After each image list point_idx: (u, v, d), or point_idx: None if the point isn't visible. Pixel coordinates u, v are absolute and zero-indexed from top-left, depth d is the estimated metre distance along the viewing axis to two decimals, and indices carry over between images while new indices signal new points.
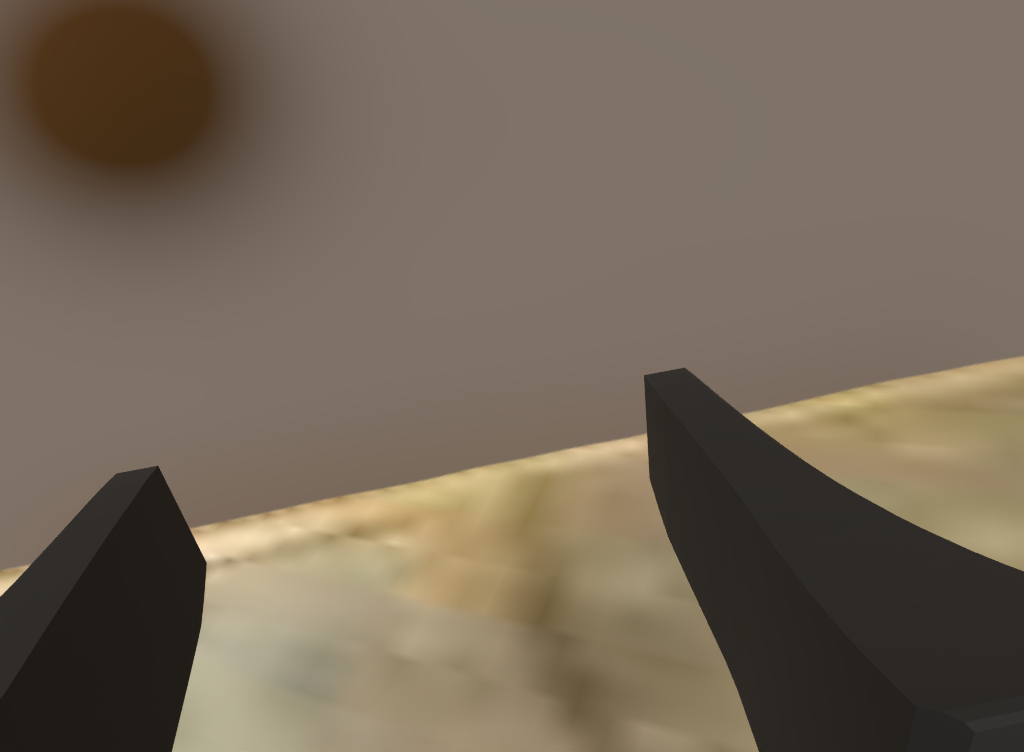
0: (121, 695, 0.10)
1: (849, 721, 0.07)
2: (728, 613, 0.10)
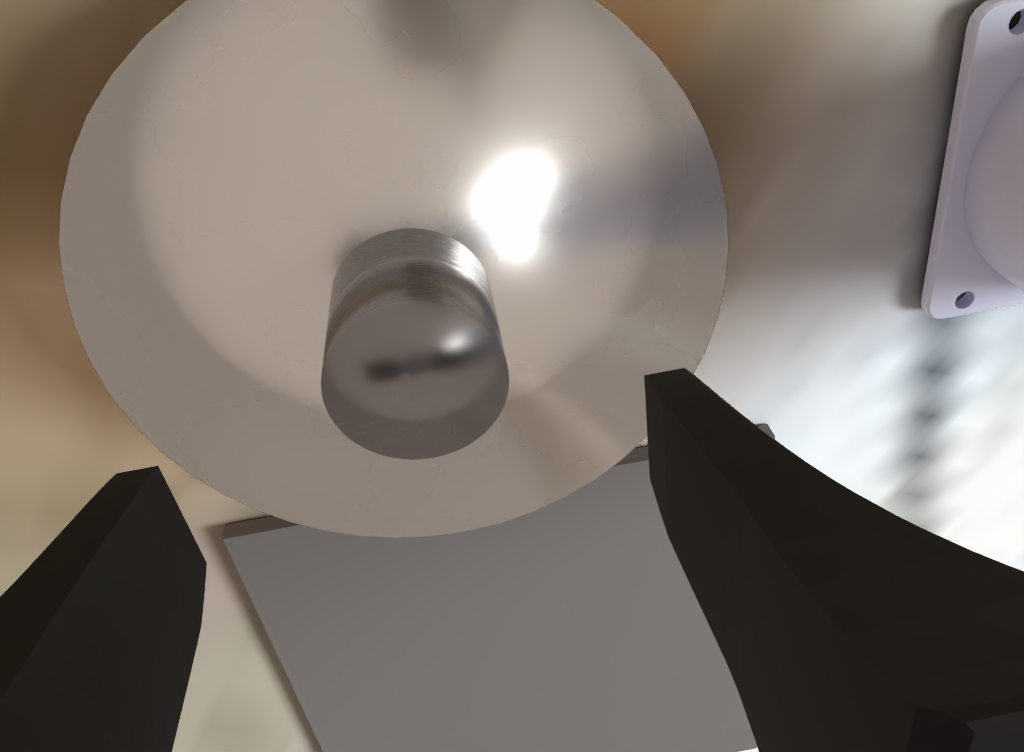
0: (121, 695, 0.10)
1: (849, 722, 0.07)
2: (728, 613, 0.10)
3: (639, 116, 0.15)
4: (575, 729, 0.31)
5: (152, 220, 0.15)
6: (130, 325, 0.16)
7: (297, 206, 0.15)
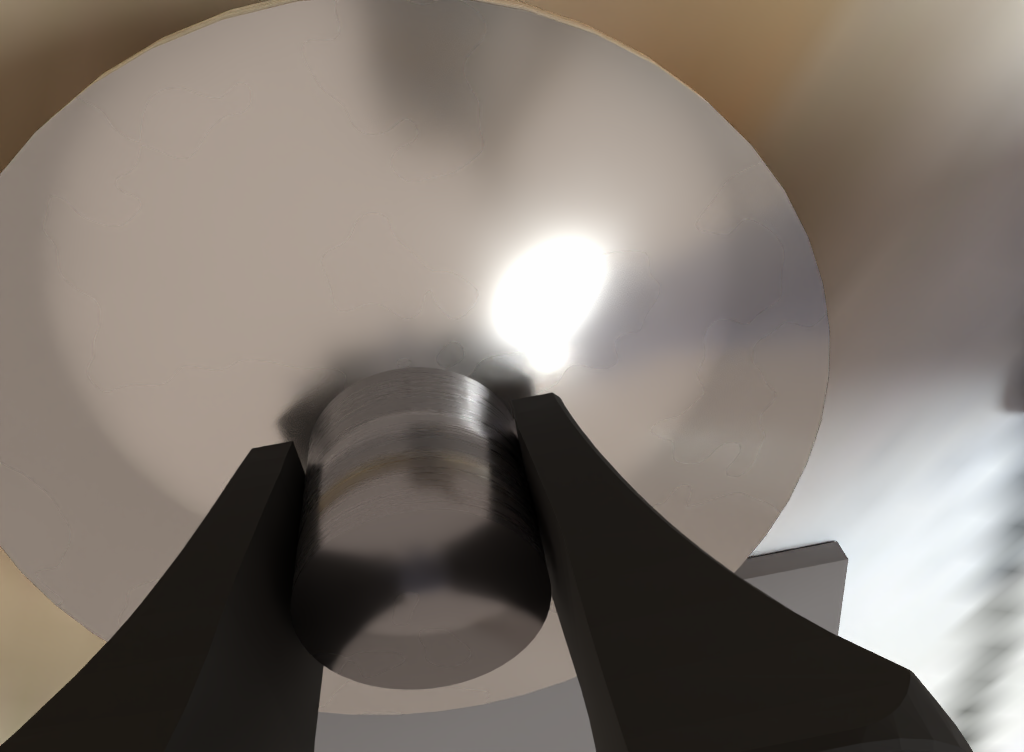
0: (281, 663, 0.10)
1: None
2: (575, 643, 0.10)
3: (724, 223, 0.11)
4: None
5: (64, 366, 0.11)
6: (43, 491, 0.12)
7: (262, 345, 0.11)
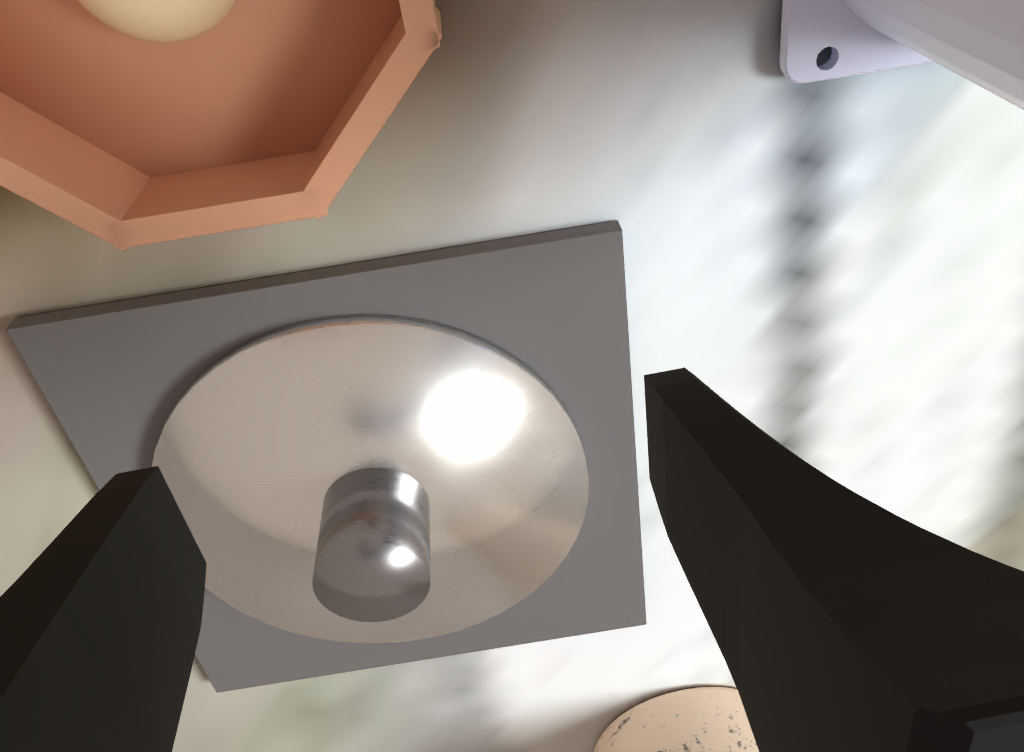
0: (121, 695, 0.10)
1: (849, 721, 0.07)
2: (728, 613, 0.10)
3: (489, 383, 0.23)
4: None
5: (205, 493, 0.24)
6: (206, 548, 0.26)
7: (289, 470, 0.24)
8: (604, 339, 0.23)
